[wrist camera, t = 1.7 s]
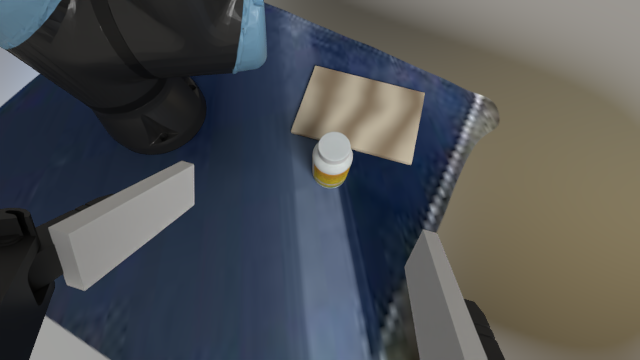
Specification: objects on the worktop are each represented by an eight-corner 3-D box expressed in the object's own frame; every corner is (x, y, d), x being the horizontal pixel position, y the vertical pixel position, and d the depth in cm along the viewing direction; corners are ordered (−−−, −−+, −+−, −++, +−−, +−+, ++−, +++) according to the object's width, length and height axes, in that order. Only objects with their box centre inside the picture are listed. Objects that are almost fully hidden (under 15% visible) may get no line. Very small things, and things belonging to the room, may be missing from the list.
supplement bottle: (309, 161, 40) (307, 130, 31) (341, 154, 41) (349, 122, 32) (317, 192, 39) (318, 170, 30) (350, 185, 39) (361, 160, 30)
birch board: (291, 132, 42) (290, 130, 41) (315, 68, 46) (315, 65, 46) (410, 165, 40) (411, 163, 40) (423, 95, 45) (424, 93, 44)
